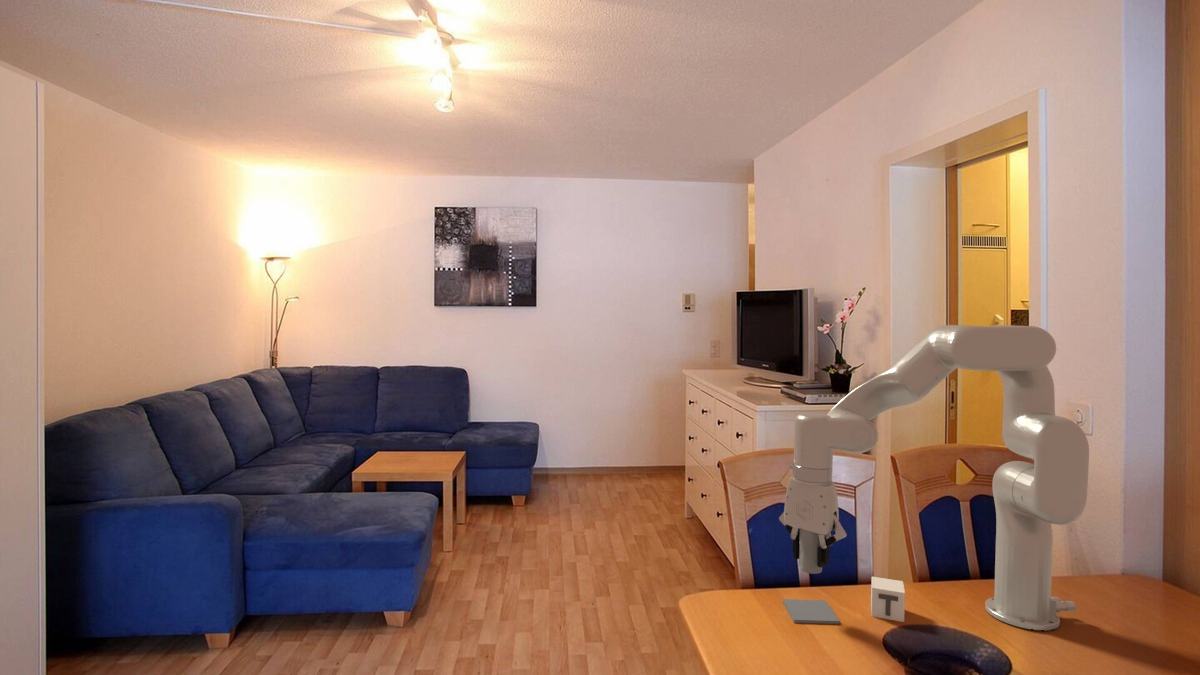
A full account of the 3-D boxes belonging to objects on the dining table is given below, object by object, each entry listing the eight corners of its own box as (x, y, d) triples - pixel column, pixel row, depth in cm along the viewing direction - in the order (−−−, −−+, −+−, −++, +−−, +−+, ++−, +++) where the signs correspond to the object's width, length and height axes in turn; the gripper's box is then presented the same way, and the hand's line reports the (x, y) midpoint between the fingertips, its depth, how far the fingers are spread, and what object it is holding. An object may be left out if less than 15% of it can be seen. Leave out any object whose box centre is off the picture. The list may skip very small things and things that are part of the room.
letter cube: (871, 604, 131) (871, 576, 131) (902, 609, 129) (902, 581, 129) (871, 617, 125) (872, 588, 125) (904, 623, 123) (905, 593, 123)
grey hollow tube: (818, 565, 129) (820, 517, 128) (824, 574, 124) (825, 524, 124) (796, 564, 129) (797, 516, 129) (801, 573, 125) (802, 523, 124)
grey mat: (825, 602, 131) (825, 600, 131) (839, 624, 122) (839, 621, 122) (782, 601, 132) (782, 599, 132) (793, 622, 123) (794, 619, 123)
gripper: (766, 468, 130) (764, 554, 130) (843, 485, 117) (841, 580, 118) (785, 463, 135) (783, 545, 135) (861, 479, 122) (859, 569, 123)
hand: (810, 560), depth 127 cm, fingers closed on grey hollow tube, 4 cm apart
